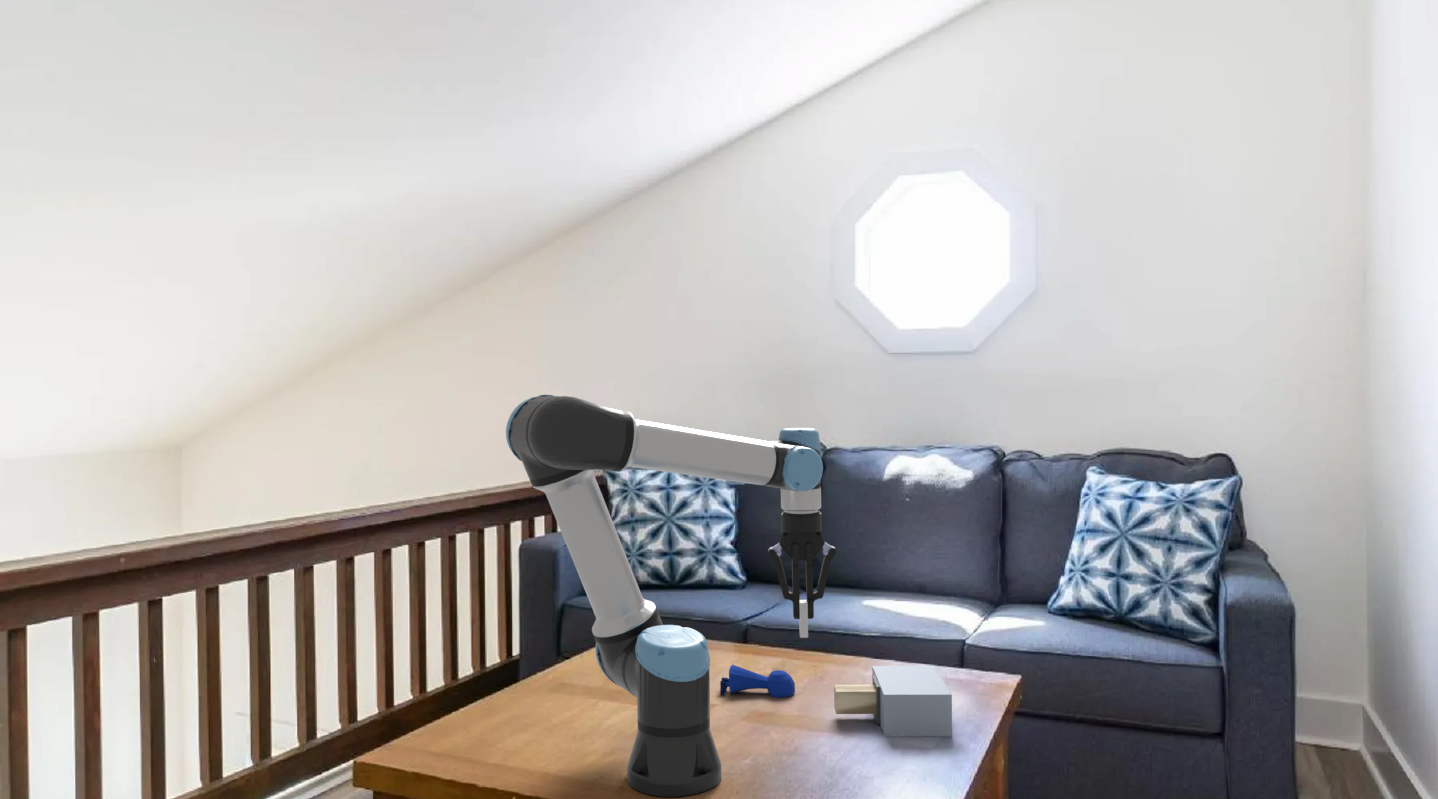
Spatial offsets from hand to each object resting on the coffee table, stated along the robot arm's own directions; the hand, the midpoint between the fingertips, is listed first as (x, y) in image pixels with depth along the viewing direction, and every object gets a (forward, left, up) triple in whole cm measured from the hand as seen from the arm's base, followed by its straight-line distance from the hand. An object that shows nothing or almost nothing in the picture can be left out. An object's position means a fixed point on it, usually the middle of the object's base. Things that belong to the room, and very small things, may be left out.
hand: (803, 635), depth 190 cm
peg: (0, -14, -14) cm, 20 cm away
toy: (+16, +9, -16) cm, 24 cm away
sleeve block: (0, -20, -16) cm, 25 cm away
